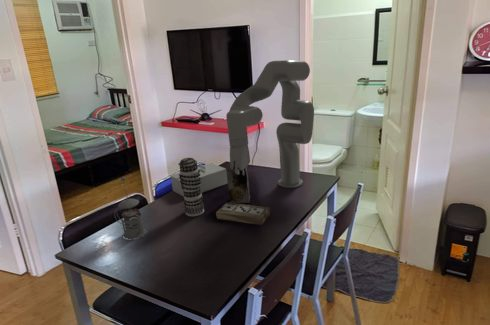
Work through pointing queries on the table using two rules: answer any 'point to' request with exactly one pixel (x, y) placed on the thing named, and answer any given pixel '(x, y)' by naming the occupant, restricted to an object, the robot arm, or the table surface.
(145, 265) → the table surface
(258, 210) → the tile two
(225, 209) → the tile one
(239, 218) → the wooden dot tile board
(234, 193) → the coffee box
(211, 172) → the tissue box
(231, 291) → the table surface
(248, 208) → the tile three
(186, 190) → the decorative candle
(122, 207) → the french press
